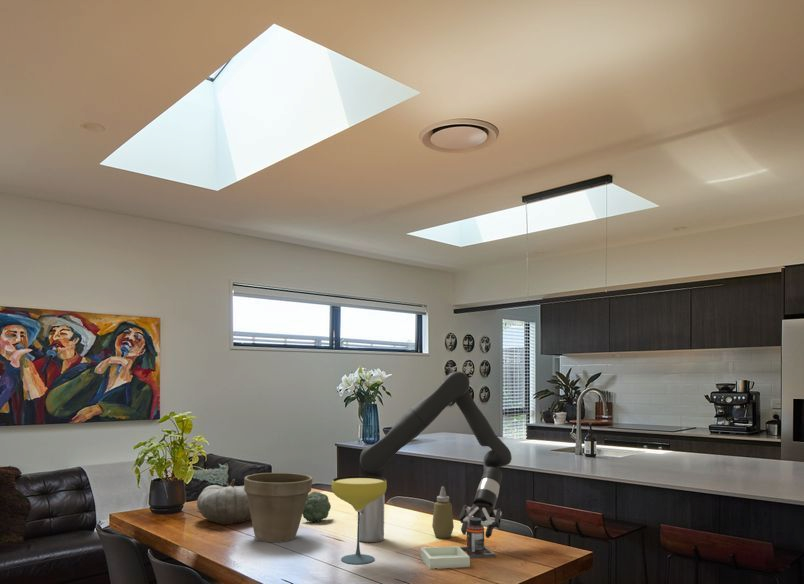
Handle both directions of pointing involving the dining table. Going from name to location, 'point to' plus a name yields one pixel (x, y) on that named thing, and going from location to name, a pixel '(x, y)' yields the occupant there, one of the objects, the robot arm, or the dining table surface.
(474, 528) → the supplement bottle
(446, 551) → the dish
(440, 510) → the squeeze bottle
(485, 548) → the socket collar
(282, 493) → the plant pot
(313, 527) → the dining table surface
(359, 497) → the cocktail glass
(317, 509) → the vegetable
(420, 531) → the dining table surface
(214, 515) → the gourd
